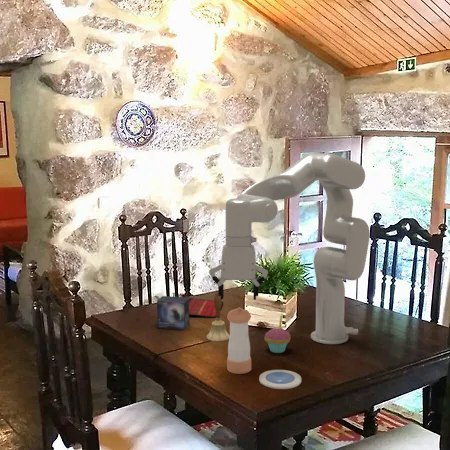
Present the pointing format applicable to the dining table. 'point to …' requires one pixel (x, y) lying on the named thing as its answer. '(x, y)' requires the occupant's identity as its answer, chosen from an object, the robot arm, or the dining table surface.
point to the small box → (173, 312)
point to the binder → (202, 308)
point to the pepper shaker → (239, 342)
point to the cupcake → (277, 338)
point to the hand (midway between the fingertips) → (238, 298)
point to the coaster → (280, 379)
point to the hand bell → (218, 324)
